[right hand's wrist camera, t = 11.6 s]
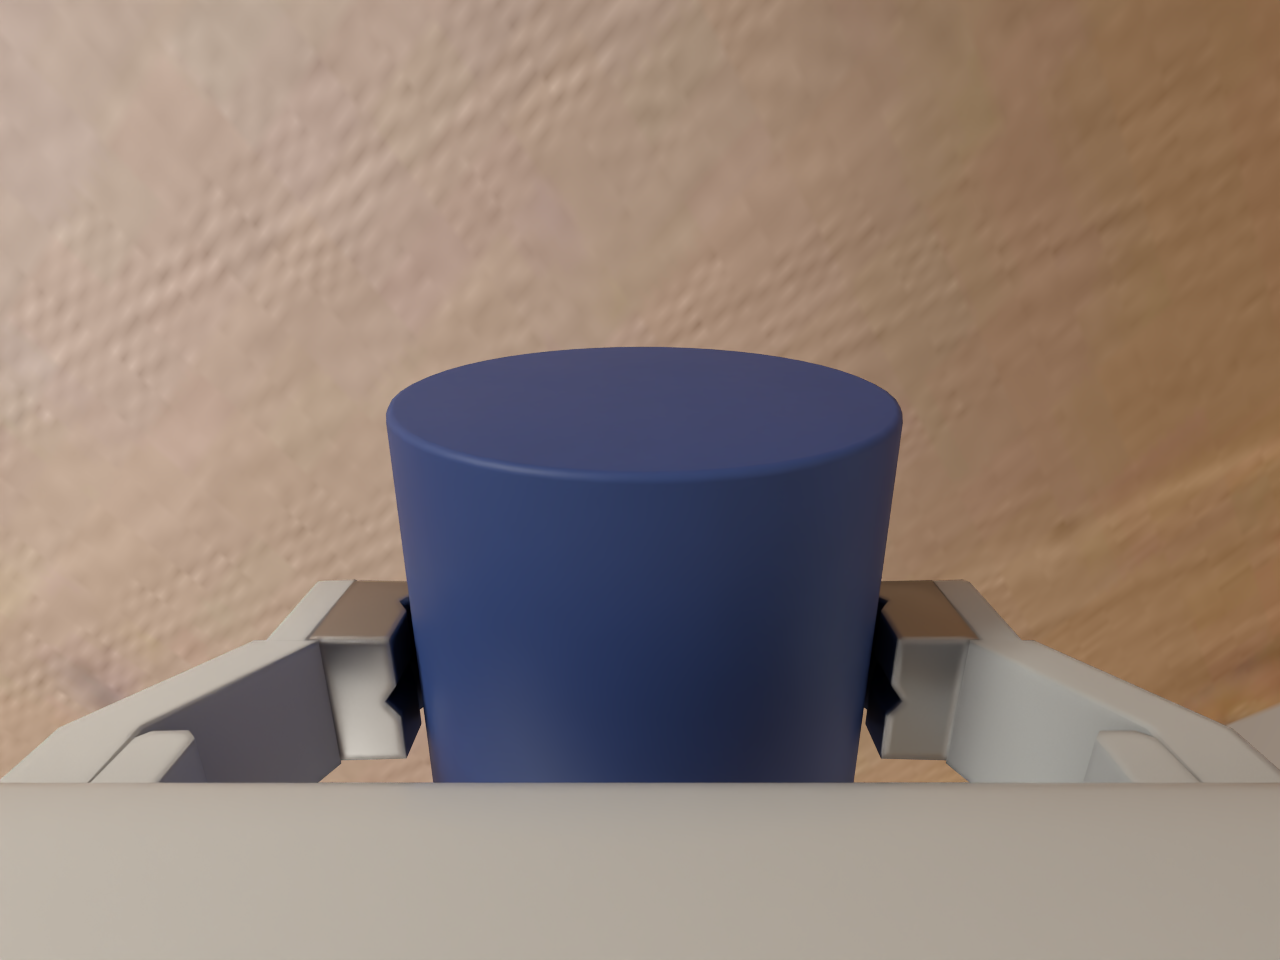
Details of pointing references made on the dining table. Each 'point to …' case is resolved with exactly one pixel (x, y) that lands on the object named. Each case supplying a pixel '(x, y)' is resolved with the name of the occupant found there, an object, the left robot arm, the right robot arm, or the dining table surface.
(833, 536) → the cylinder
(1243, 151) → the dining table surface
